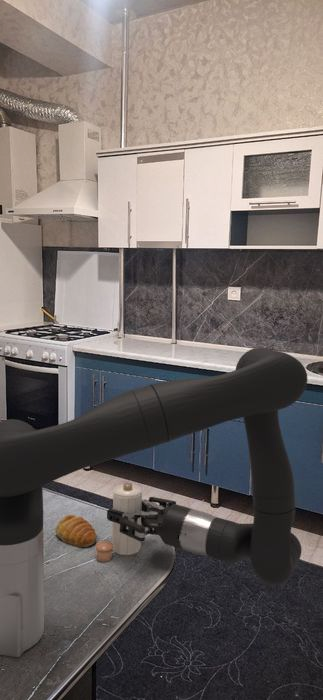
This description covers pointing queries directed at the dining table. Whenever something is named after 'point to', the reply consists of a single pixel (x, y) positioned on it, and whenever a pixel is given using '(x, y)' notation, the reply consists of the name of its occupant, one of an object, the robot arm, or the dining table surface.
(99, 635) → the dining table surface
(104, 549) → the salmon brown knob
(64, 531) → the pastry
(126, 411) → the robot arm
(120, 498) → the ribbed lidded canister
